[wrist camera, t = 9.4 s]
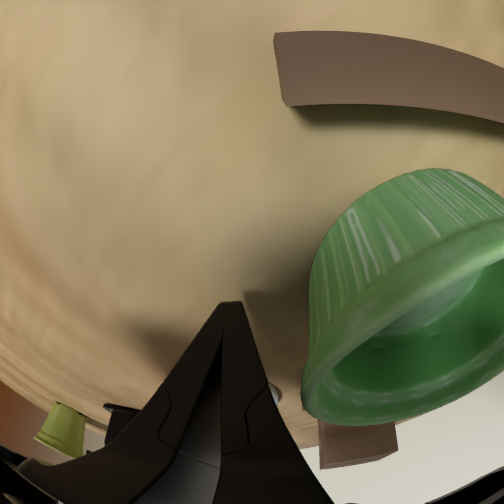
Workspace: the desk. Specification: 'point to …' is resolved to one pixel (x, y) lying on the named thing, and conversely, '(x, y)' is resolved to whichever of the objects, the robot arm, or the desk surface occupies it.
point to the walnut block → (355, 443)
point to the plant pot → (63, 431)
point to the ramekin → (406, 300)
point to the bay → (385, 73)
